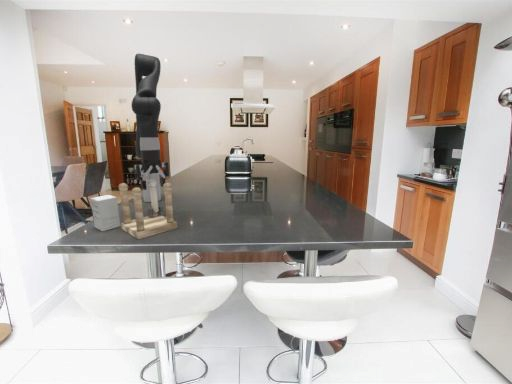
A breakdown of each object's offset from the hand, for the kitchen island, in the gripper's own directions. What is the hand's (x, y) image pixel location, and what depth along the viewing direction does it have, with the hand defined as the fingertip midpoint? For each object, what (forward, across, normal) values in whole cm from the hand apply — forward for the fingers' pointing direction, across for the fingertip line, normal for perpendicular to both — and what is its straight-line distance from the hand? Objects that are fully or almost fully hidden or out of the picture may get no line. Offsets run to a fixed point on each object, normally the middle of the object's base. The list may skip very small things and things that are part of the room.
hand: (153, 188), depth 113 cm
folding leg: (+10, 0, 0) cm, 10 cm away
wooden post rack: (+15, +6, +6) cm, 17 cm away
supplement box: (+15, +17, -8) cm, 24 cm away
